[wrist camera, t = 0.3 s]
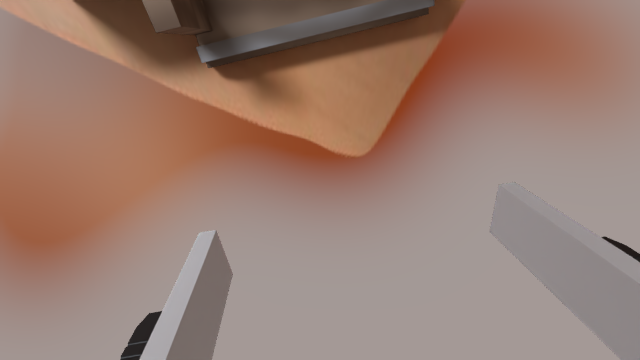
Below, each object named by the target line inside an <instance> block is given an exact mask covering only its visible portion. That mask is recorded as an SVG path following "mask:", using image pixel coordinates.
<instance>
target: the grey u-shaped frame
mask: <svg viewBox="0 0 640 360" xmlns="http://www.w3.org/2000/svg"><path fill="white" fill-rule="evenodd" d="M142 2H143V4H144V6H145V8H146V11H147V13H148V15H149V18H150V20H151V22H152V25H153V27H154V29H155V31H156V33H170V34H187V35H196V37H197V40H198V43H199V45H200V46H198V47H196V49H197V51H198V54H199V56H200V59H201V62H202V63H204V62H206V64H207V67H208V68H212V67H216V66H220V65H224V64H228V63H232V62H236V61H240V60H244V59H248V58H252V57H257V56H261V55H265V54H269V53H273V52H277V51H281V50H285V49H289V48H293V47H297V46H301V45H305V44H309V43H313V42H317V41H321V40H326V39H330V38H334V37H338V36H342V35H346V34H350V33H354V32H358V31H362V30H366V29H370V28H374V27H378V26H382V25H386V24H391V23H395V22H399V21H403V20H407V19H411V18H415V17H419V16H423V15H427V14H429V12H428V7H431V6H434V0H142Z"/></svg>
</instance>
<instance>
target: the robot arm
mask: <svg viewBox="0 0 640 360" xmlns="http://www.w3.org/2000/svg"><path fill="white" fill-rule="evenodd" d="M490 233H491V234H492V235H493V236H495V238H497V239H498V240H499V241H500V242H501V243H502V244H503V245H504V246H505V247H506V248H507V249H508V250H509V251H510V252H511V253H512V254H513V255H514V256H515V257H516V258H517V259H518V260H519V261H520V262H521V263H522V264H523V265H524V266H525V267H526V268H527V269H528V270H529V271H530V272H531V273H532V274H533V275H534V276H535V277H537V278H538V279H539V280H540V281H541V282H542V283H543V284H544V285H545V286H546V287H547V288H548V289H549V290H550V291H551V292H552V293H553V294H554V295H555V296H556V297H557V298H558V299H559V300H560V301H561V302H562V303H563V304H564V305H565V306H566V307H567V308H568V309H569V310H570V311H571V312H572V313H573V314H574V315H576V316H577V317H578V318H579V319H580V320H581V321H582V322H583V323H584V324H585V325H586V326H587V327H588V328H589V329H590V330H591V331H592V332H593V333H594V334H595V335H596V336H597V337H598V338H599V339H600V340H601V341H602V342H603V343H604V344H605V345H606V346H607V347H609V349H610V350H612V351H613V352H614V353H615V354H616V355H617V356H618V357H619V358H620V359H621V360H640V254H639V253H637V252H636V251H634V250H633V249H631V248H629V247H628V246H626V245H624V244H622V243H619V242H617V241H614V240H612V239H609V238H607V237H600V236H598V235H597V234H595V233H593V232H592V231H590V230H589V229H587V228H586V227H584V226H583V225H581V224H579V223H578V222H576V221H575V220H573V219H572V218H570V217H568V216H567V215H565V214H564V213H562V212H561V211H559V210H558V209H556V208H554V207H553V206H551V205H550V204H548V203H547V202H545V201H544V200H542V199H540V198H539V197H537V196H536V195H534V194H533V193H531V192H530V191H528V190H526V189H525V188H523V187H522V186H520V185H519V184H517V183H516V182H512V183H506V184H500V185H499V186H498V191H497V196H496V202H495V207H494V212H493V217H492V222H491V227H490ZM232 275H233V274H232V271H231V268H230V265H229V263H228V260H227V257H226V255H225V252H224V250H223V247H222V244H221V241H220V239H219V236H218V234H217V231H216V230H213V231H207V232H200V233H199V234H198V236H197V239H196V241H195V243H194V245H193V247H192V249H191V251H190V253H189V256H188V258H187V260H186V262H185V264H184V266H183V268H182V270H181V272H180V275H179V277H178V279H177V281H176V283H175V285H174V287H173V289H172V292H171V294H170V296H169V298H168V300H167V302H166V305H165V306H164V309H163V311H160V312H155V313H149V314H148V315H147V316H146V318H145V319H144V320H143V321H142V322H141V323H140V324H139V325H138V326H137V328H136V329H135V331H134V333H133V335H132V337H131V338H130V340H129V342H128V346H127V347H126V348H125V350H124V352H123V353H122V355H121V360H212V356H213V352H214V348H215V344H216V340H217V336H218V332H219V328H220V324H221V320H222V315H223V312H224V308H225V304H226V300H227V295H228V291H229V287H230V283H231V279H232Z"/></svg>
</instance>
